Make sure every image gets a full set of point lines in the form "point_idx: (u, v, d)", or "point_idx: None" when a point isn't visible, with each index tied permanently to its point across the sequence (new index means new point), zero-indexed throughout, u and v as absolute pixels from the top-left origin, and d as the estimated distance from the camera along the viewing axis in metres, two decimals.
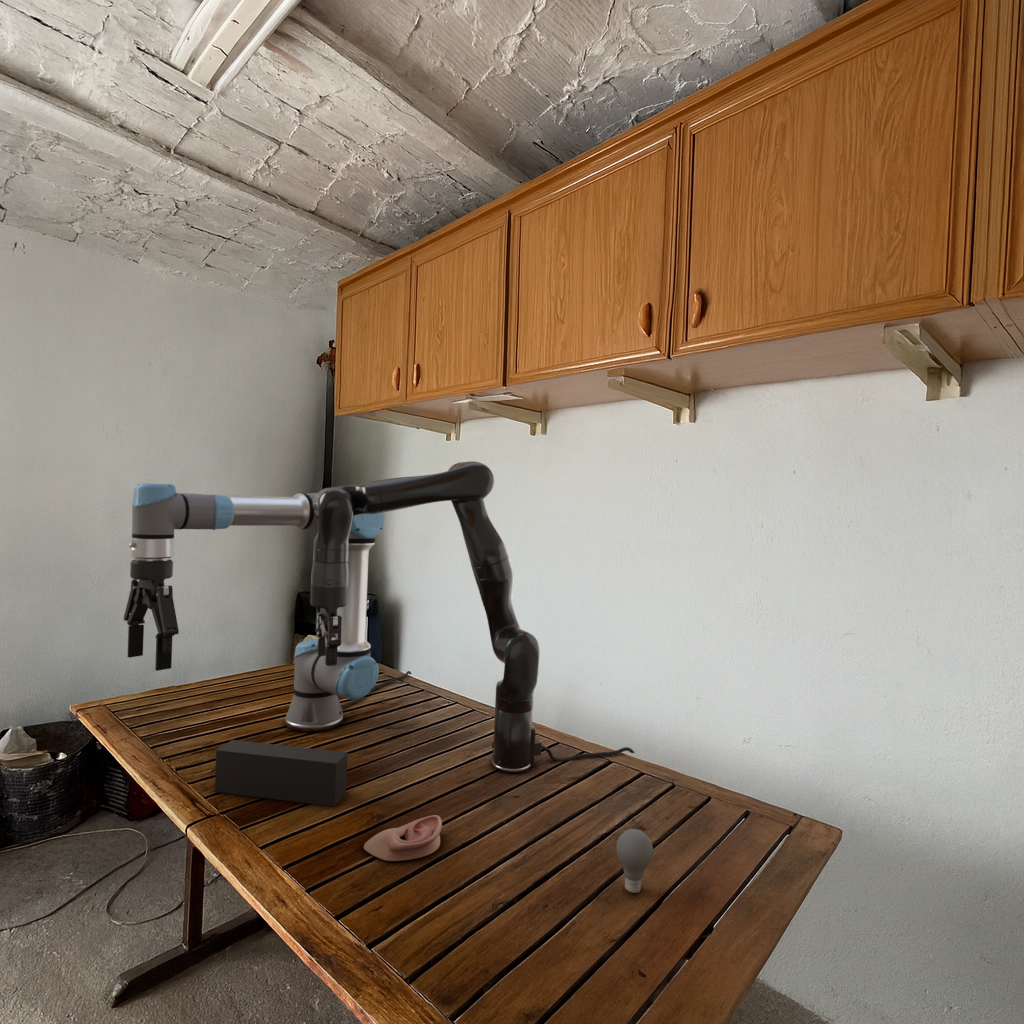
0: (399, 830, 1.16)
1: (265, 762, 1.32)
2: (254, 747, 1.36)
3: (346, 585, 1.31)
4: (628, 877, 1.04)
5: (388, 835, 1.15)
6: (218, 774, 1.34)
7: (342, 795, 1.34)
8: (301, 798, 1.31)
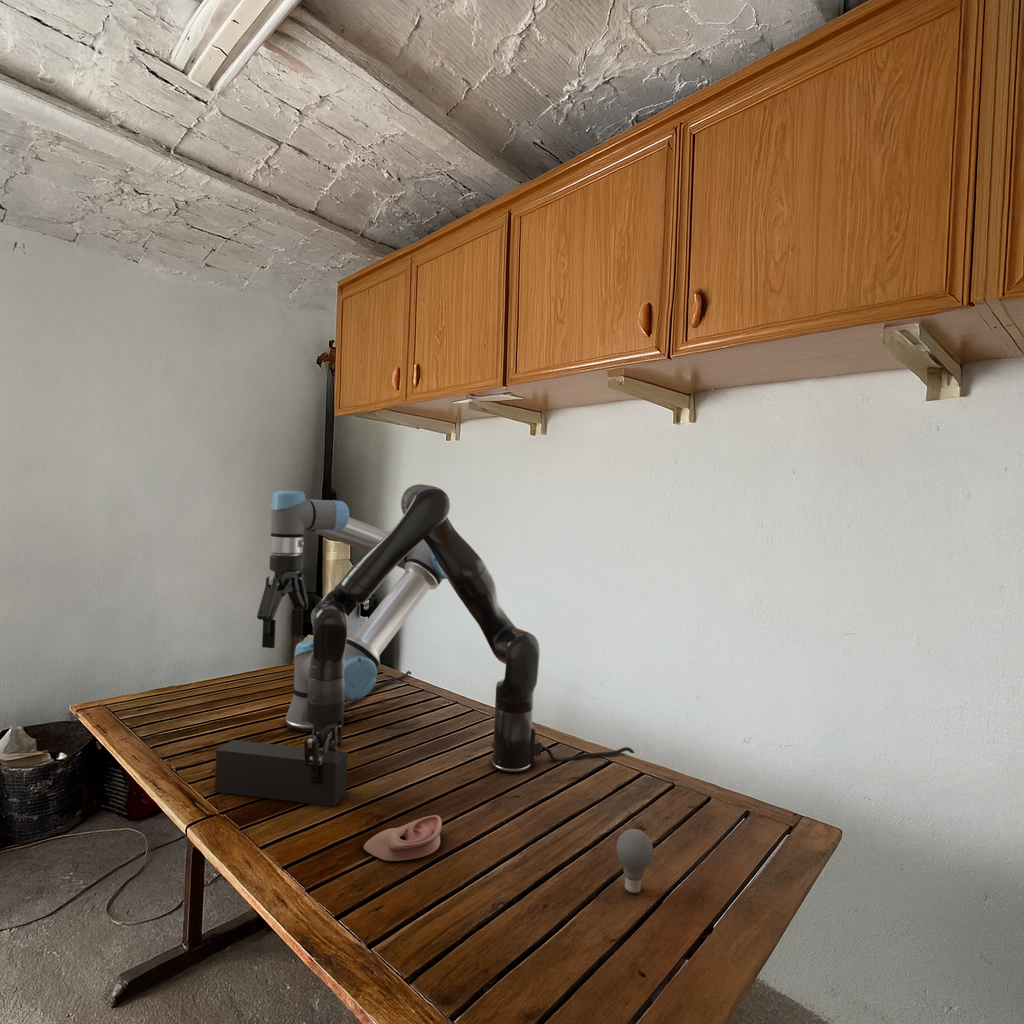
0: (399, 830, 1.16)
1: (265, 762, 1.32)
2: (254, 747, 1.36)
3: (334, 703, 1.30)
4: (628, 877, 1.04)
5: (388, 835, 1.15)
6: (218, 774, 1.34)
7: (342, 795, 1.34)
8: (301, 798, 1.31)
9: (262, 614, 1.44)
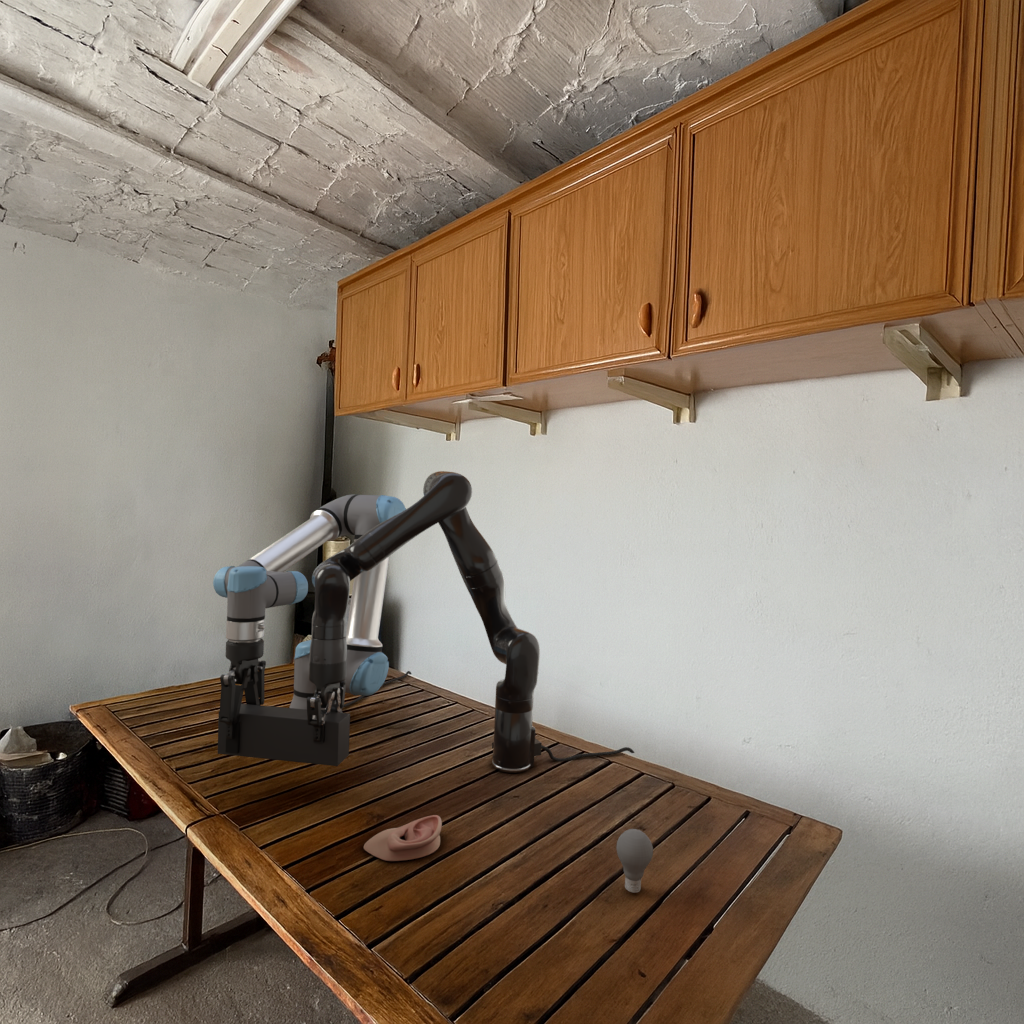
0: (399, 830, 1.16)
1: (267, 722, 1.32)
2: (256, 709, 1.36)
3: (336, 662, 1.30)
4: (628, 877, 1.04)
5: (388, 835, 1.15)
6: (221, 736, 1.33)
7: (345, 756, 1.33)
8: (304, 758, 1.31)
9: (224, 719, 1.29)
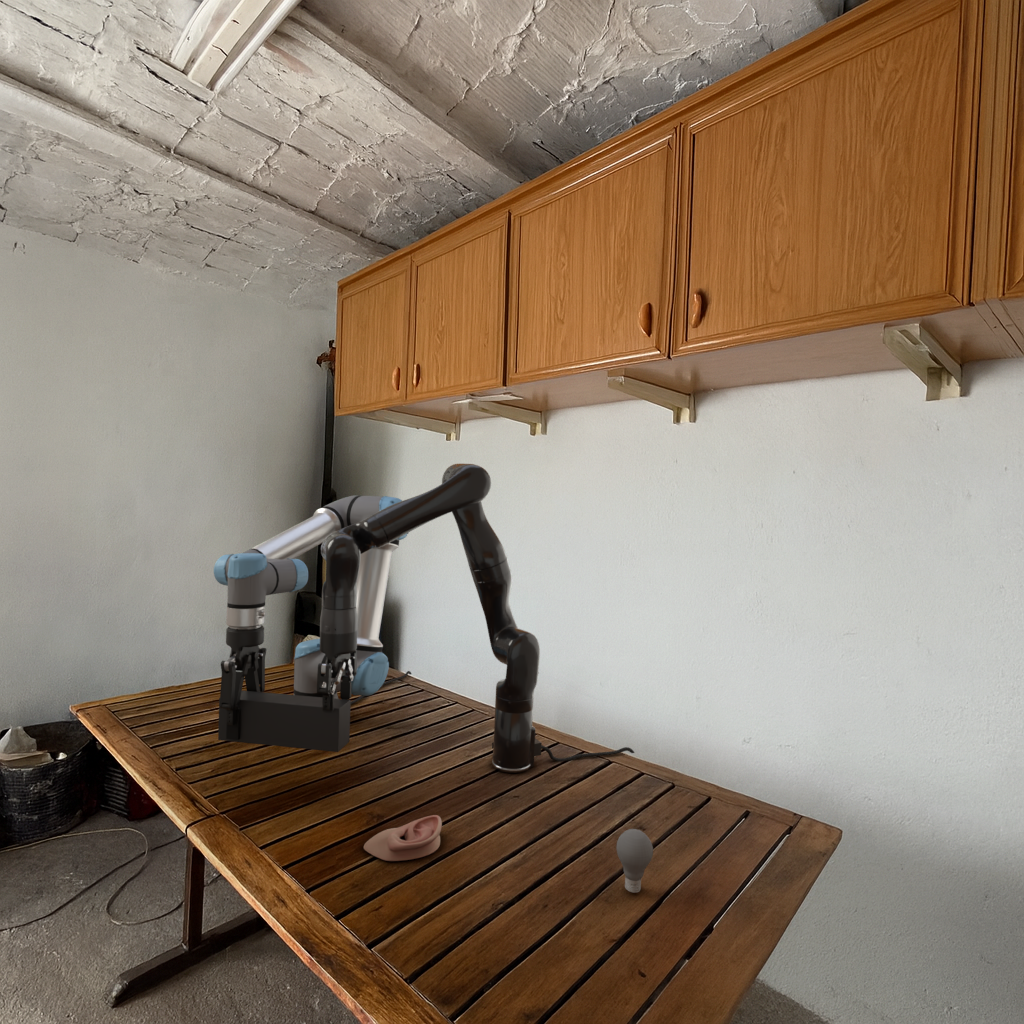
0: (399, 830, 1.16)
1: (268, 709, 1.32)
2: (257, 695, 1.36)
3: (347, 632, 1.30)
4: (628, 877, 1.04)
5: (388, 835, 1.15)
6: (221, 722, 1.33)
7: (345, 742, 1.34)
8: (305, 744, 1.31)
9: (225, 705, 1.29)
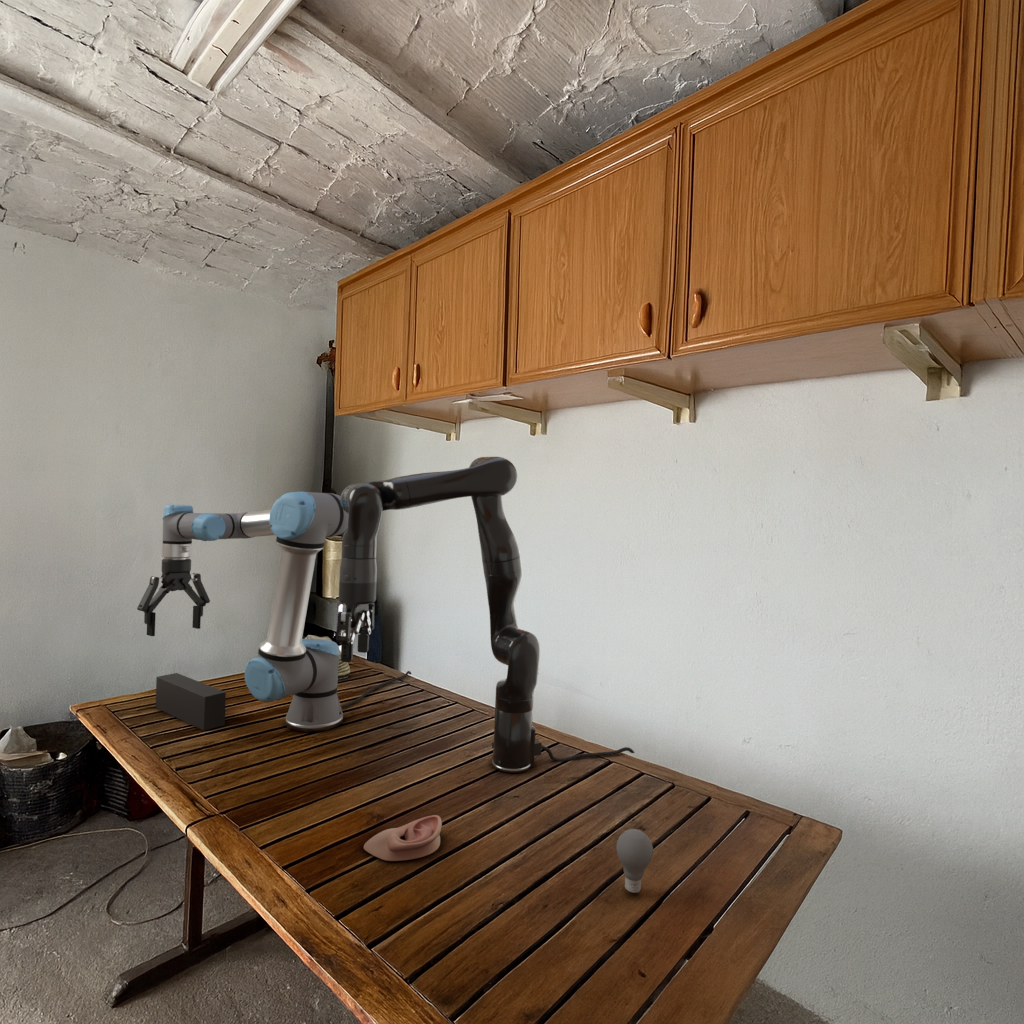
0: (399, 830, 1.16)
1: (175, 689, 1.76)
2: (179, 679, 1.81)
3: (367, 582, 1.29)
4: (628, 877, 1.04)
5: (388, 835, 1.15)
6: (156, 695, 1.82)
7: (218, 724, 1.70)
8: (190, 721, 1.71)
9: (140, 607, 1.74)
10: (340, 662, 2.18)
